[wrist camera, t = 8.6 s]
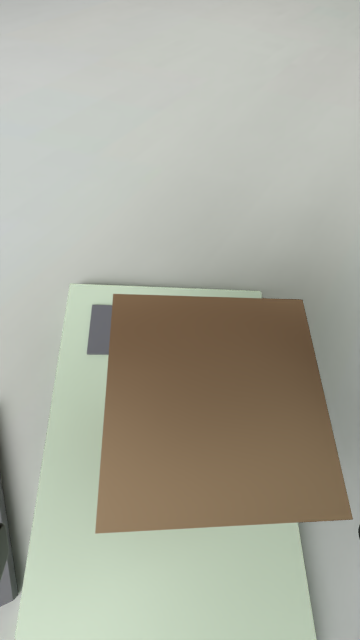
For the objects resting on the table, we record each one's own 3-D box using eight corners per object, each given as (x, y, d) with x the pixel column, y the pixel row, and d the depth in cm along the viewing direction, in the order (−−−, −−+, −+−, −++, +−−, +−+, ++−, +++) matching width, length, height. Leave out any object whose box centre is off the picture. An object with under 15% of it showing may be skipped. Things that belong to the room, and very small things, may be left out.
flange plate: (310, 668, 13) (326, 686, 12) (12, 699, 12) (-1, 722, 11) (255, 298, 21) (262, 289, 20) (73, 292, 19) (69, 281, 18)
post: (207, 483, 16) (353, 519, 5) (128, 486, 15) (95, 533, 4) (202, 403, 17) (302, 299, 7) (131, 404, 17) (113, 294, 6)
